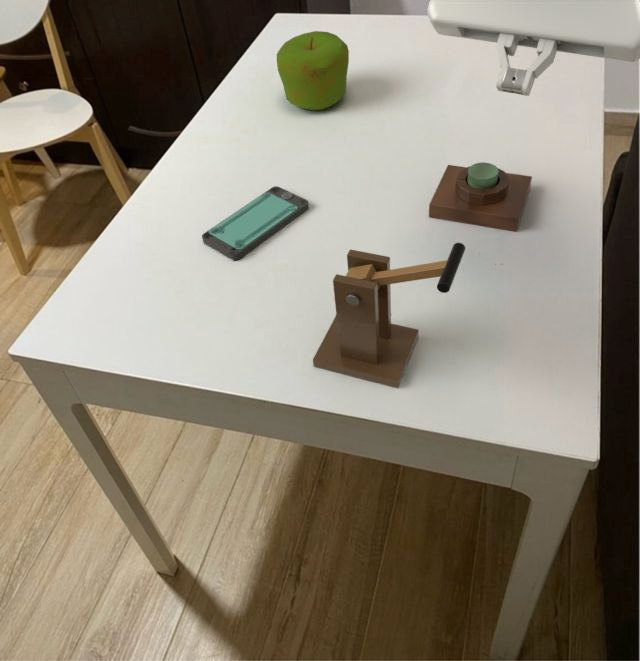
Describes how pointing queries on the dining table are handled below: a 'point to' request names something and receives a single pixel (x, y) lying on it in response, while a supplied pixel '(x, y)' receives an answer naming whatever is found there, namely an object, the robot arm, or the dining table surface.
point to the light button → (482, 175)
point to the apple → (313, 69)
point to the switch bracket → (365, 328)
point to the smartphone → (255, 222)
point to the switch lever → (414, 271)
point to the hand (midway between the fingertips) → (512, 91)
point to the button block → (480, 199)
